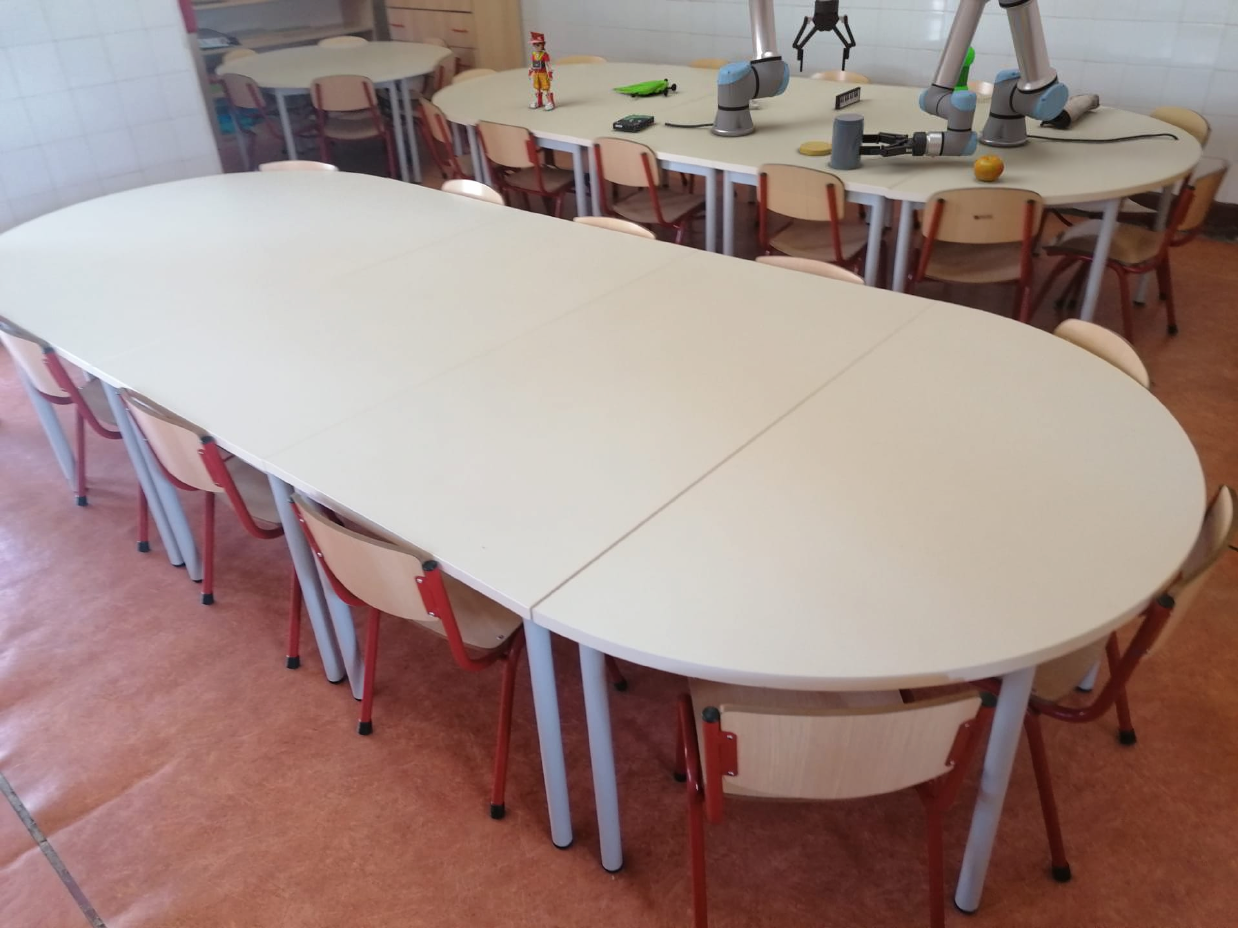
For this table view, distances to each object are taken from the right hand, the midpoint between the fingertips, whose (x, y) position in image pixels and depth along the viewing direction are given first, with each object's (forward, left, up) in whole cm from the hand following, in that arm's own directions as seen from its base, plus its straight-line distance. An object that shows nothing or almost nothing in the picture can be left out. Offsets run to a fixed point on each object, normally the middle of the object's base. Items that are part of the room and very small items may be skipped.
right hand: (857, 144), depth 292 cm
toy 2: (+31, -136, -7) cm, 139 cm away
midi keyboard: (-36, -72, -7) cm, 81 cm away
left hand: (+4, -20, +19) cm, 28 cm away
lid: (+4, -20, -5) cm, 21 cm away
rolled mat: (-95, -14, -7) cm, 96 cm away
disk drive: (+51, -81, -7) cm, 96 cm away
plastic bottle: (-74, -55, -7) cm, 93 cm away
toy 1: (+77, -130, -7) cm, 151 cm away
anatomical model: (+2, -90, -7) cm, 91 cm away
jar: (+3, -2, -7) cm, 7 cm away
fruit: (-28, +31, -7) cm, 42 cm away
